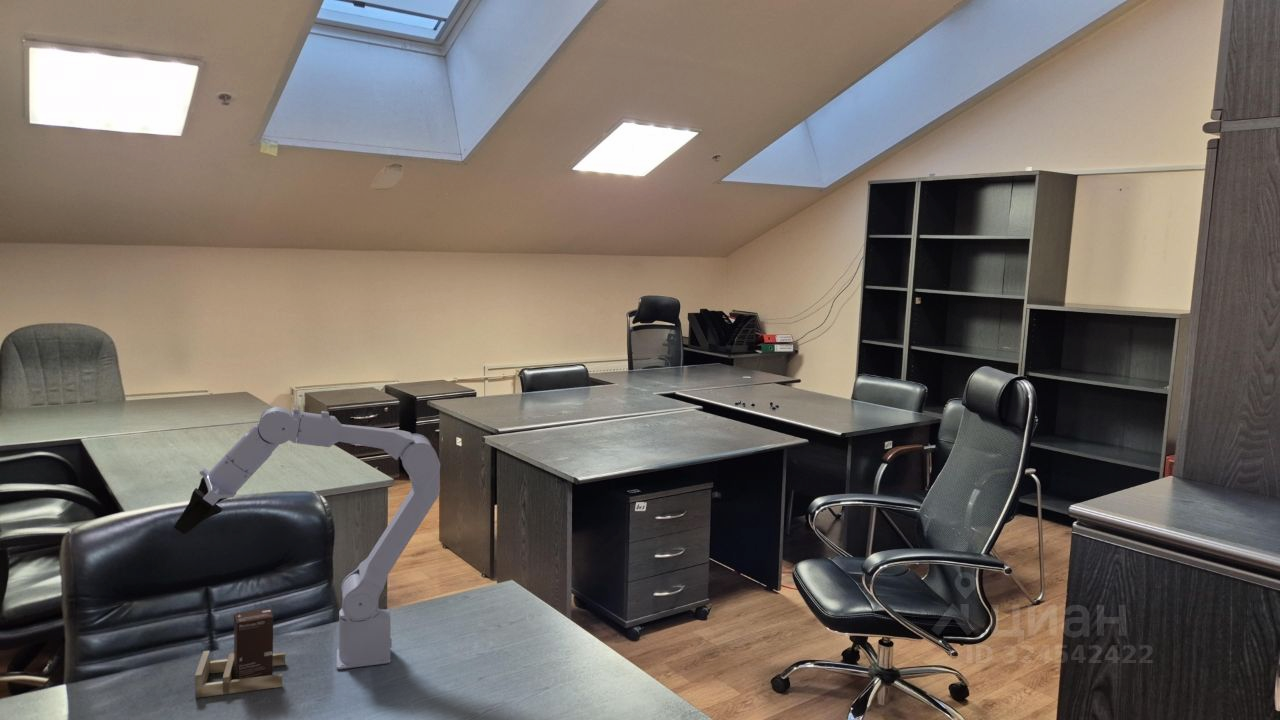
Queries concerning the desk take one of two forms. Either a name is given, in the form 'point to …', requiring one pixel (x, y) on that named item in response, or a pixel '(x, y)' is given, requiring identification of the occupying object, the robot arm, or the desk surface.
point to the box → (253, 644)
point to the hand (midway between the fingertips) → (183, 523)
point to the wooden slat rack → (228, 683)
